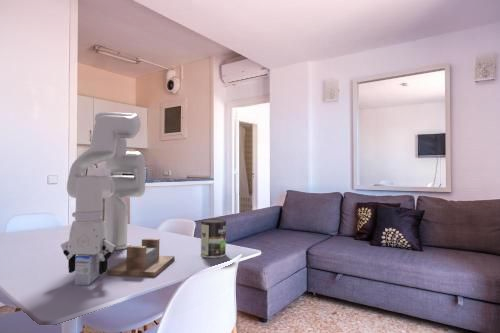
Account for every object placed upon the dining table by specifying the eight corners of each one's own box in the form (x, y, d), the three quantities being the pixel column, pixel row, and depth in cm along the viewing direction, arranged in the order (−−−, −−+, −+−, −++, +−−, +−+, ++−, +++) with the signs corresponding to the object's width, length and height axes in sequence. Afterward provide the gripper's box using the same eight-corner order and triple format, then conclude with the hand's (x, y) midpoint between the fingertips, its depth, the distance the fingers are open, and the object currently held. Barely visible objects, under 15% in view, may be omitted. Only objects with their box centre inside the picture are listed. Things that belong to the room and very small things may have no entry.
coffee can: (229, 253, 136) (230, 219, 136) (219, 259, 126) (219, 223, 126) (207, 250, 140) (208, 218, 140) (195, 256, 130) (196, 221, 130)
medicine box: (85, 276, 104) (86, 249, 104) (99, 276, 104) (100, 249, 104) (74, 285, 96) (74, 255, 96) (89, 285, 96) (90, 255, 96)
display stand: (107, 274, 106) (107, 248, 106) (134, 258, 125) (134, 236, 126) (154, 276, 104) (155, 250, 104) (174, 260, 124) (175, 237, 124)
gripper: (54, 217, 97) (52, 274, 97) (109, 219, 96) (108, 277, 95) (70, 214, 105) (69, 267, 104) (121, 215, 103) (120, 269, 103)
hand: (87, 272), depth 100 cm, fingers open, 9 cm apart
